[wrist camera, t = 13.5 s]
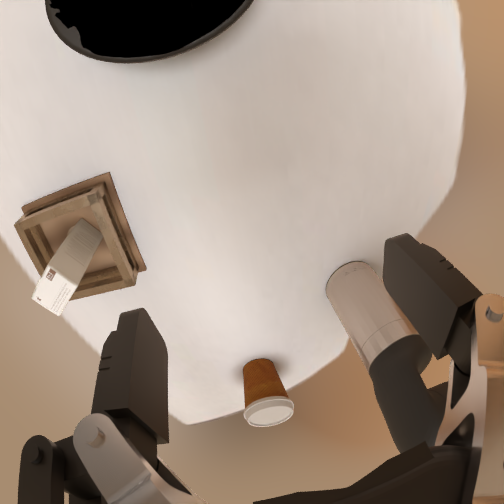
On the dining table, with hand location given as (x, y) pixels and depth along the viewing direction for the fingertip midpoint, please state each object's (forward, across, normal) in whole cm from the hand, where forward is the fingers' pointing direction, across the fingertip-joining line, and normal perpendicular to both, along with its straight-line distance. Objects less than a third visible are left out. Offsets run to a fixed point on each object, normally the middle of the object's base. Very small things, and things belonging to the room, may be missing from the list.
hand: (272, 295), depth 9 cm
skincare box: (+29, +21, +7) cm, 37 cm away
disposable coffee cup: (+30, +4, +45) cm, 54 cm away
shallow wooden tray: (+29, +22, +7) cm, 37 cm away
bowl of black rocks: (+29, +2, -20) cm, 35 cm away
